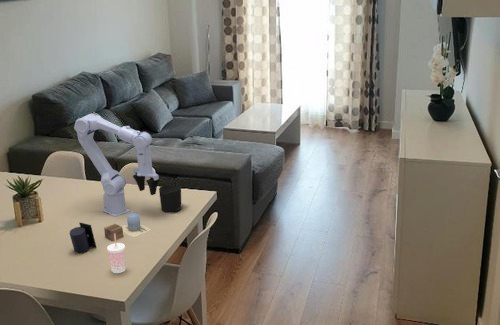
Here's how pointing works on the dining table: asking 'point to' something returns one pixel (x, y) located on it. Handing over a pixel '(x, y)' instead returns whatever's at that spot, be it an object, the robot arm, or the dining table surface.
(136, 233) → the letter
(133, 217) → the slate cylinder
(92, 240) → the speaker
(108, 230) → the walnut block
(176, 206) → the pen holder
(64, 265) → the dining table surface
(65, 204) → the dining table surface
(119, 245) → the beverage cup
